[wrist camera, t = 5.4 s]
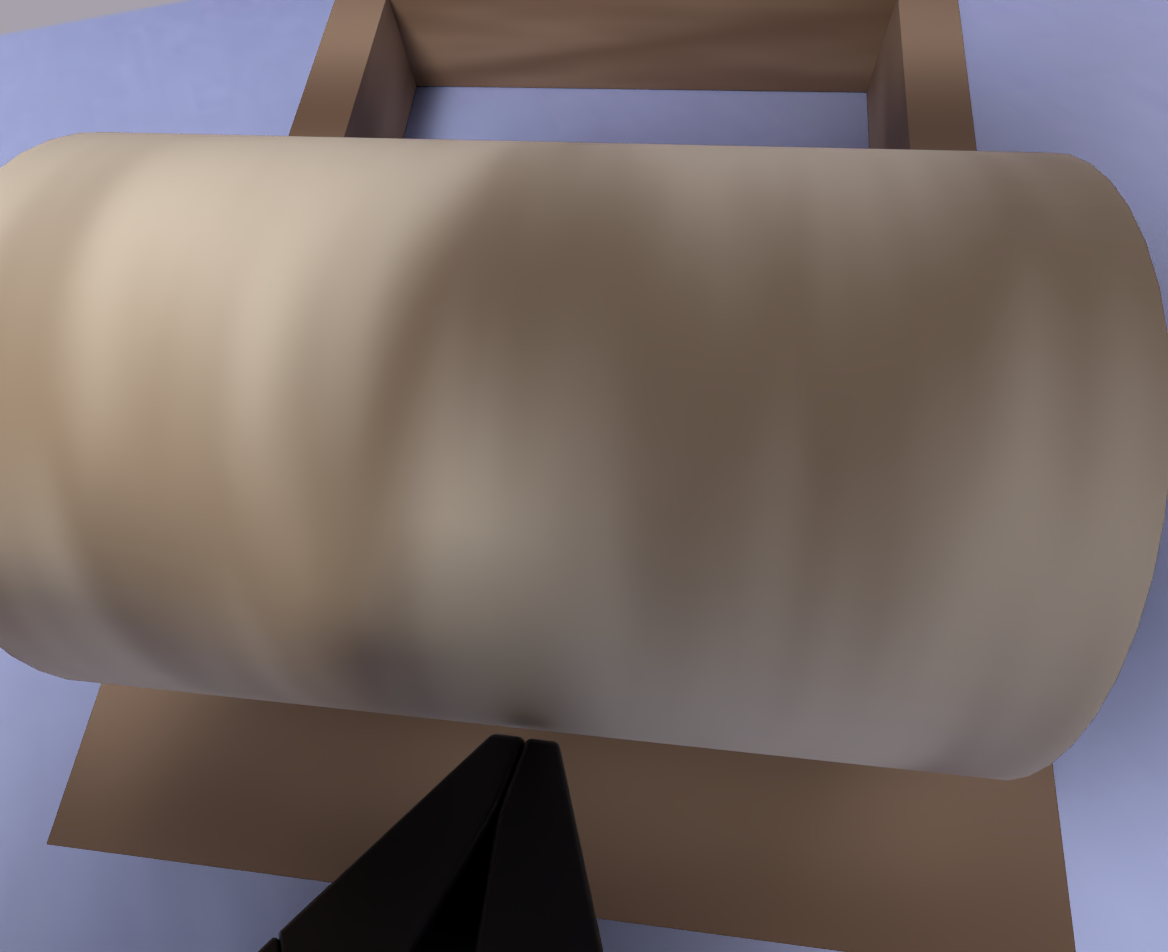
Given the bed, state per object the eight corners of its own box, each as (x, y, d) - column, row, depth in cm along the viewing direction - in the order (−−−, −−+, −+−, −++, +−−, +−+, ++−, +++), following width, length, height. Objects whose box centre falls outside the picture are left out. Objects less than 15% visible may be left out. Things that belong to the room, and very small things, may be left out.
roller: (880, 717, 14) (1184, 897, 6) (261, 655, 15) (-181, 732, 7) (891, 300, 15) (1161, -26, 7) (314, 276, 16) (-16, -23, 8)
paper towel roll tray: (993, 944, 14) (1079, 983, 11) (150, 834, 16) (46, 844, 13) (916, 68, 23) (954, -31, 20) (378, 63, 24) (344, -29, 22)
